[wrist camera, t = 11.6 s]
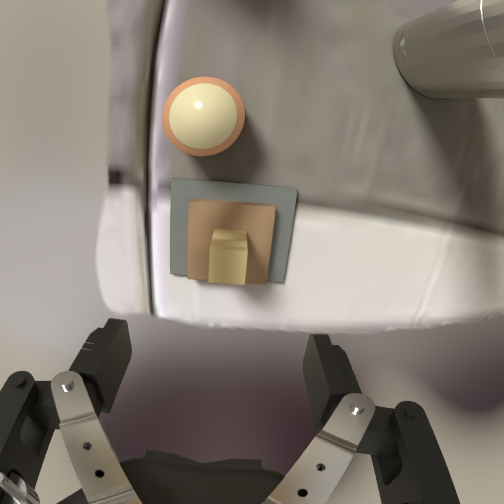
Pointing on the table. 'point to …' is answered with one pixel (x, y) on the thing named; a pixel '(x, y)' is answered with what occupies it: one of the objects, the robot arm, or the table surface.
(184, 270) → the mat
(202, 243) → the lid
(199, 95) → the push button
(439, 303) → the table surface
